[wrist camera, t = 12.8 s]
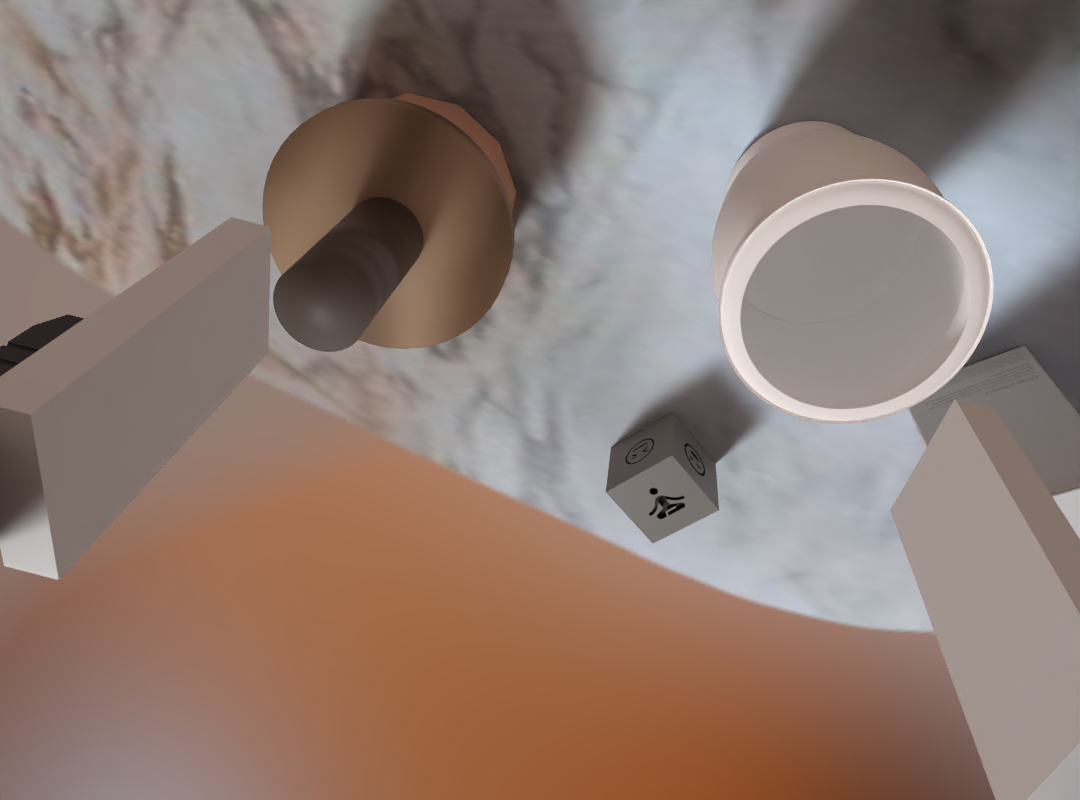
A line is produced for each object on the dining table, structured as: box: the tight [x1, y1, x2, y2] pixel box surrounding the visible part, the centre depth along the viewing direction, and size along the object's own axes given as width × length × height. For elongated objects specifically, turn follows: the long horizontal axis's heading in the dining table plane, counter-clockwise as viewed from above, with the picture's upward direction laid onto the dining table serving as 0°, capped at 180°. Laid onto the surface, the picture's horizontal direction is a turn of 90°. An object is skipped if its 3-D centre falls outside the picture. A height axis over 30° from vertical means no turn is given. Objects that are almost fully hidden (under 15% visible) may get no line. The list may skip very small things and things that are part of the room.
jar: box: [711, 121, 993, 424], centre depth 38 cm, size 11×10×15 cm
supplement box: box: [908, 346, 1080, 538], centre depth 44 cm, size 7×7×13 cm
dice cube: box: [606, 412, 719, 543], centre depth 52 cm, size 5×5×5 cm
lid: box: [263, 98, 514, 352], centre depth 38 cm, size 13×13×10 cm
